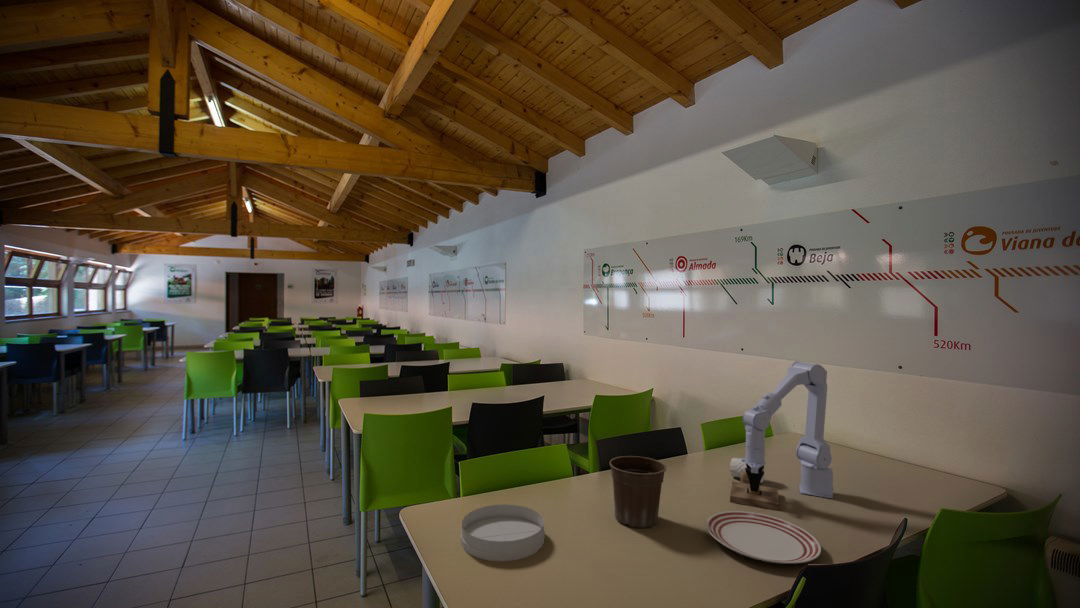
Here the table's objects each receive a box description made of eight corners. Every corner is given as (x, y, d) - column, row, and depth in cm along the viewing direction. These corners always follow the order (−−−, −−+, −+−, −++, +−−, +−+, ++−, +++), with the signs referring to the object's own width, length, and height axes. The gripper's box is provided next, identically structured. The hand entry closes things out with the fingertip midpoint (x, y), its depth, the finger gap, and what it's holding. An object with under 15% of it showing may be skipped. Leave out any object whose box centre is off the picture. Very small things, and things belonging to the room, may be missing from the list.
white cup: (731, 483, 177) (761, 487, 171) (727, 465, 175) (757, 469, 169) (737, 468, 183) (765, 473, 177) (733, 451, 181) (762, 455, 174)
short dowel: (750, 483, 172) (750, 472, 172) (750, 486, 169) (750, 475, 169) (740, 482, 173) (740, 471, 173) (740, 485, 170) (740, 473, 170)
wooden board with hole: (777, 494, 162) (777, 488, 162) (778, 510, 149) (778, 503, 149) (732, 487, 168) (732, 481, 168) (730, 501, 155) (730, 495, 155)
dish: (466, 568, 114) (466, 546, 114) (455, 526, 136) (456, 508, 136) (555, 555, 121) (556, 535, 121) (532, 517, 142) (532, 500, 142)
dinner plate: (821, 537, 133) (821, 525, 133) (820, 587, 109) (820, 572, 109) (716, 513, 147) (716, 502, 147) (695, 553, 123) (695, 540, 123)
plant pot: (644, 504, 152) (645, 453, 152) (677, 527, 137) (678, 469, 137) (598, 511, 146) (599, 458, 146) (627, 536, 131) (628, 476, 131)
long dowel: (759, 497, 160) (759, 475, 160) (759, 500, 157) (759, 479, 157) (748, 495, 161) (749, 474, 161) (748, 499, 158) (749, 477, 158)
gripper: (742, 439, 167) (742, 479, 167) (741, 451, 154) (740, 494, 154) (765, 442, 164) (764, 482, 164) (765, 454, 151) (764, 498, 151)
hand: (754, 488), depth 159 cm, fingers open, 4 cm apart
